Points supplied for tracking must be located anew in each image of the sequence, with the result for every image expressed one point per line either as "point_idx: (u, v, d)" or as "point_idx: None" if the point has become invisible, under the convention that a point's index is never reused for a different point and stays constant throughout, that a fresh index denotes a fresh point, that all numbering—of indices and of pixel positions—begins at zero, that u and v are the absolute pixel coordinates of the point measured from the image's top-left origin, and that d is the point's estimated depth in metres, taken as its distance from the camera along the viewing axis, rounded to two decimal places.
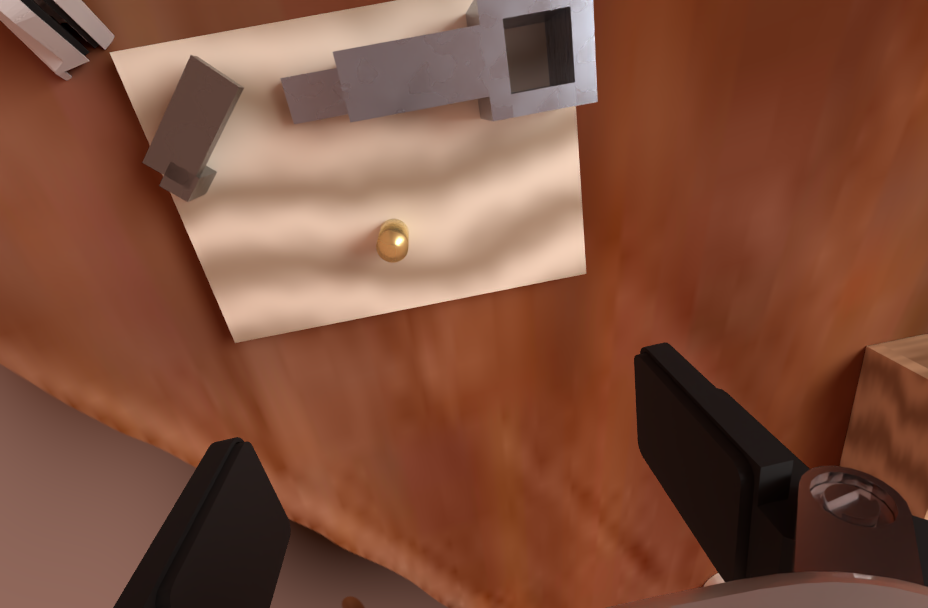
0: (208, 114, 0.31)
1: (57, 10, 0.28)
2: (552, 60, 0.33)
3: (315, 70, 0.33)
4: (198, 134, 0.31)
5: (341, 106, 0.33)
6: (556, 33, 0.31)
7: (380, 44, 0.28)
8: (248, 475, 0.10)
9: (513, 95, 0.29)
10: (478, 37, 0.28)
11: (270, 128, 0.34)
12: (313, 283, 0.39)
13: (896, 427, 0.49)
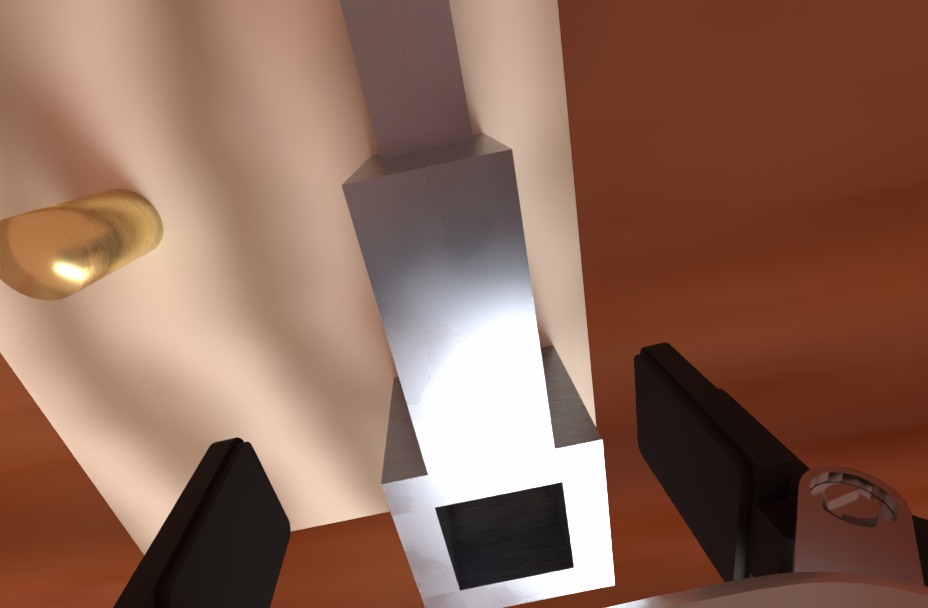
0: None
1: None
2: None
3: (462, 61, 0.15)
4: None
5: (390, 124, 0.14)
6: (527, 500, 0.19)
7: (525, 267, 0.12)
8: (248, 475, 0.10)
9: (432, 511, 0.15)
10: (533, 448, 0.14)
11: None
12: None
13: None
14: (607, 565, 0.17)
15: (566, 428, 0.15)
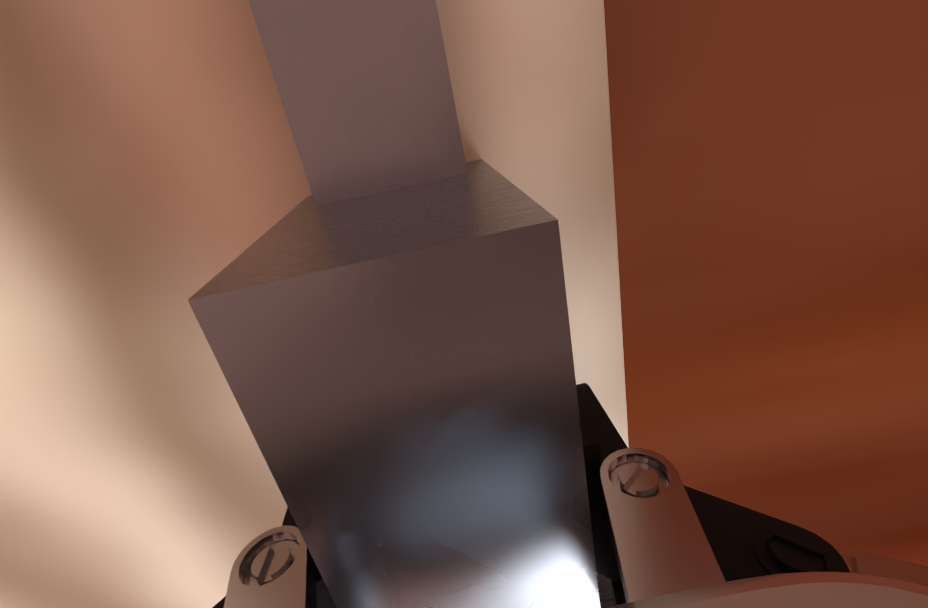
0: None
1: None
2: None
3: (448, 47, 0.09)
4: None
5: (330, 151, 0.08)
6: None
7: (575, 433, 0.06)
8: None
9: None
10: None
11: None
12: None
13: None
14: None
15: None
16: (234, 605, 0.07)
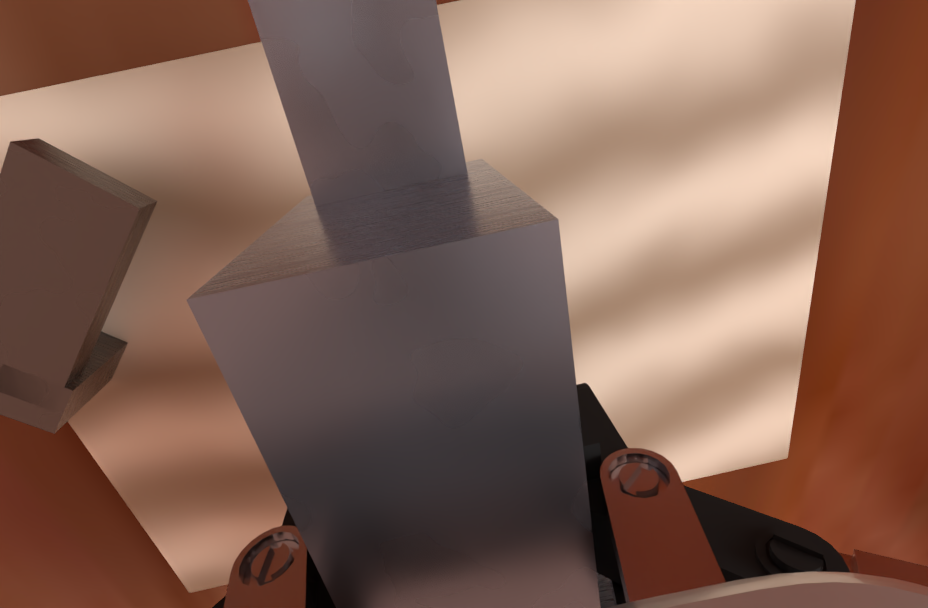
0: (75, 269, 0.13)
1: None
2: None
3: None
4: (57, 309, 0.14)
5: (330, 150, 0.08)
6: None
7: (575, 433, 0.06)
8: None
9: None
10: None
11: (228, 261, 0.17)
12: None
13: None
14: None
15: None
16: (234, 605, 0.07)
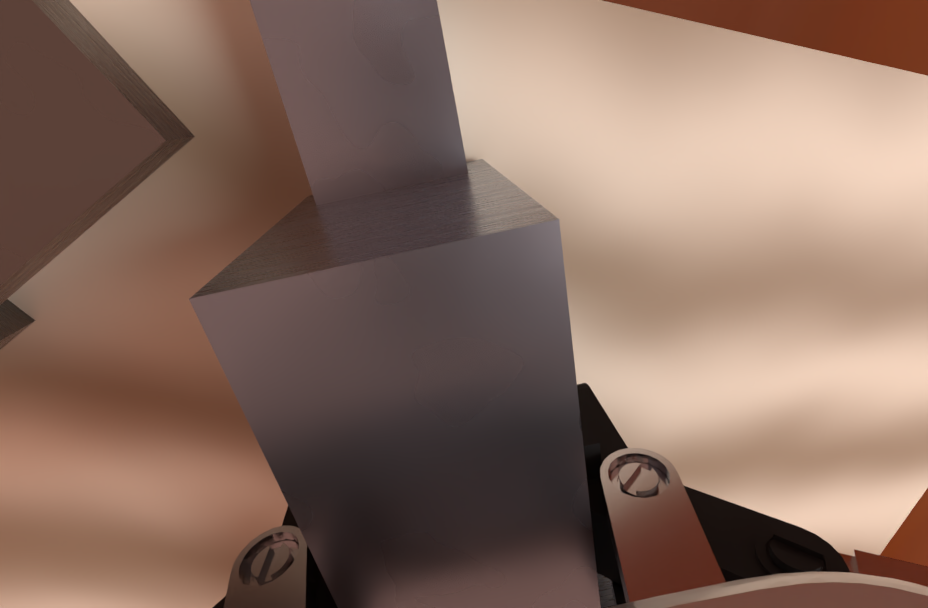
0: None
1: None
2: None
3: None
4: None
5: (331, 150, 0.08)
6: None
7: (576, 432, 0.06)
8: None
9: None
10: None
11: None
12: None
13: None
14: None
15: None
16: (234, 605, 0.07)
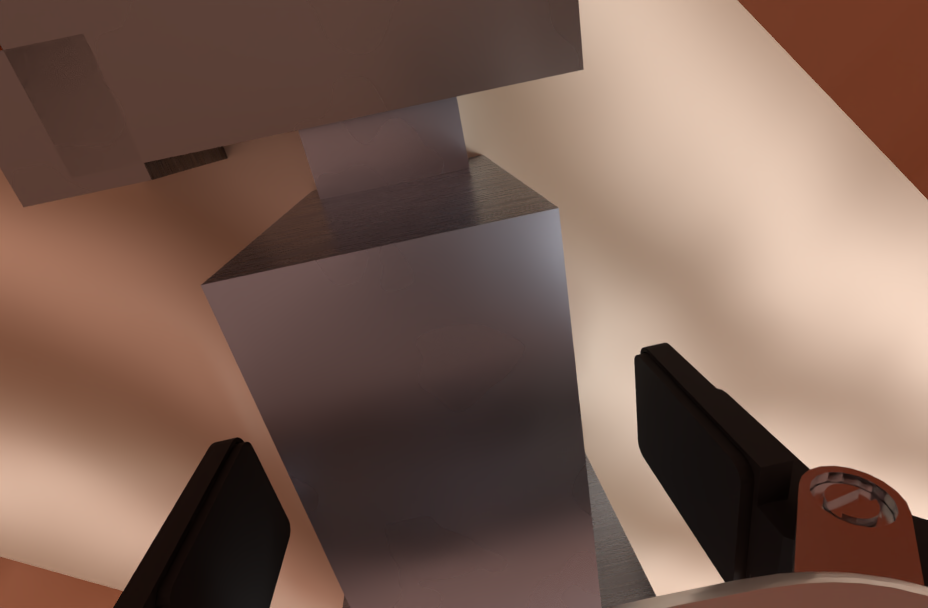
0: (401, 42, 0.07)
1: None
2: None
3: (688, 180, 0.11)
4: (296, 59, 0.07)
5: (335, 145, 0.09)
6: None
7: (575, 418, 0.06)
8: (248, 475, 0.10)
9: None
10: None
11: None
12: None
13: None
14: None
15: None
16: None
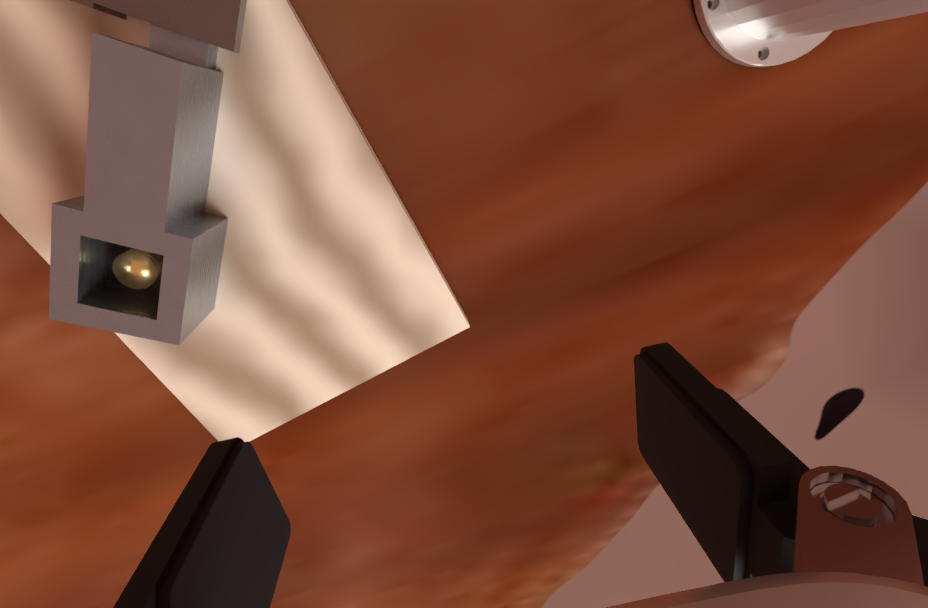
0: (183, 16, 0.25)
1: None
2: None
3: (299, 125, 0.30)
4: (151, 3, 0.24)
5: (161, 35, 0.26)
6: None
7: (174, 120, 0.24)
8: (248, 475, 0.10)
9: (78, 237, 0.25)
10: (151, 225, 0.26)
11: None
12: (41, 171, 0.29)
13: None
14: (177, 328, 0.28)
15: (181, 231, 0.27)
16: None
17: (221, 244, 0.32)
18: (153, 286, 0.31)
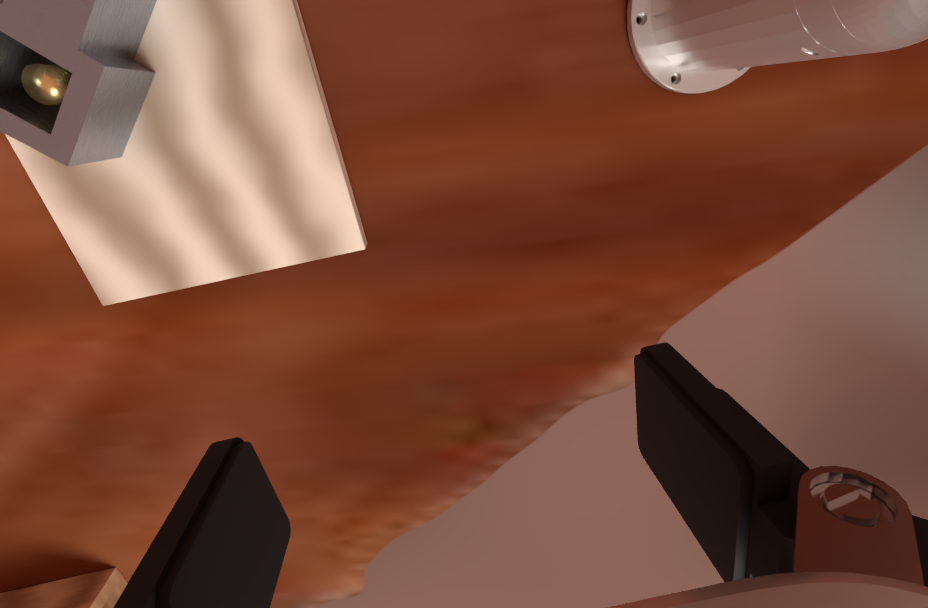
0: None
1: None
2: None
3: (244, 6, 0.32)
4: None
5: None
6: None
7: None
8: (248, 475, 0.10)
9: None
10: (67, 40, 0.27)
11: None
12: None
13: None
14: (70, 149, 0.29)
15: (97, 57, 0.28)
16: None
17: (142, 94, 0.33)
18: None
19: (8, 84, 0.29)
